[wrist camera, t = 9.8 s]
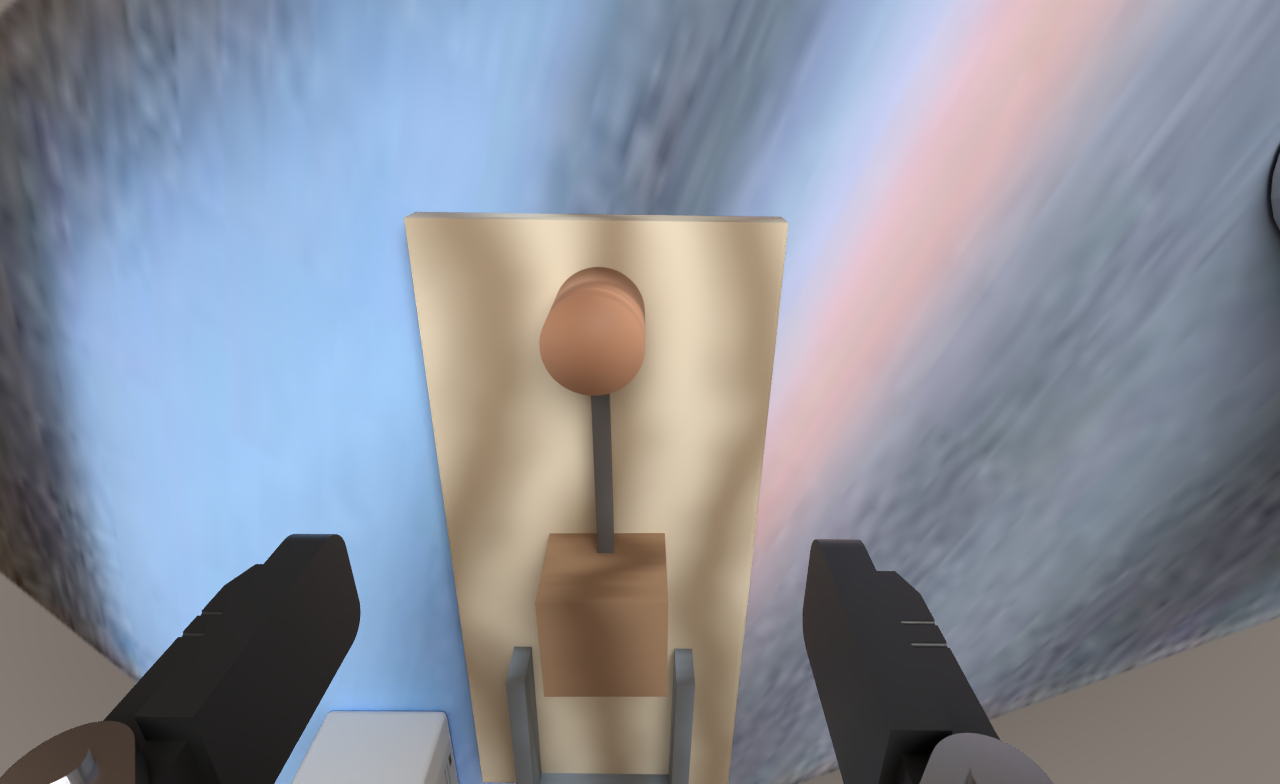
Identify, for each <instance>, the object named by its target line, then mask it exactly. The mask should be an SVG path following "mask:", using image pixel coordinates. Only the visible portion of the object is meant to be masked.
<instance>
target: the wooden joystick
mask: <svg viewBox="0 0 1280 784" xmlns="http://www.w3.org/2000/svg"><path fill="white" fill-rule="evenodd" d="M539 349H540V355H541V358H542V361H543V364H544V366H545V368H546V369H547V371H548V373H549V374H550V375H551V376H552V378H553V379H554V380H555V381H556V382H558V383H559V384H560V385H562V386H563V387H565V388H566V389H568V390H570V391H573V392H575V393H579V394H583V395H590V396H591V411H592V434H593V457H594V481H595V504H596V527H597V533H550V535H549V539H548V544H547V548H546V553H545V558H544V562H543V567H542V572H541V576H540V581H539V586H538V590H537V595H536V599H535V609H536V619H537V629H538V639H539V649H540V660H541V670H542V680H543V690H544V697H667V655H668V585H667V566H666V546H665V533H614V515H613V480H612V445H611V411H610V393H612V392H615V391H617V390H619V389H621V388H623V387H624V386H626V385H627V384H628V383H629V382H631V380H632V379H633V378H634V377H635V376H636V374H637V373H638V372H639V370H640V368H641V366H642V363H643V360H644V355H645V306H644V301H643V298H642V295H641V293H640V291H639V289H638V288H637V286H636V285H635V284H634V283H633V282H632V280H630V279H629V278H628V277H627V276H625V275H624V274H622V273H621V272H618V271H616V270H613V269H610V268H605V267H591V268H587V269H583V270H581V271H579V272H577V273H575V274H573V275H572V276H570V277H569V278H568V279H567V280H566V281H565V282H564V283H563V285H562V286H561V288H560V289H559V291H558V294H557V296H556V298H555V300H554V303H553V305H552V307H551V309H550V312H549V314H548V316H547V318H546V321H545V323H544V325H543V327H542V330H541V334H540V340H539Z"/></svg>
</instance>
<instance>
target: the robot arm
mask: <svg viewBox="0 0 1280 784" xmlns="http://www.w3.org/2000/svg"><path fill="white" fill-rule="evenodd" d="M1271 203H1272V209H1273V216H1274V219H1275V222H1276V224H1277V226H1278V228H1279V230H1280V153H1279V157H1278V160H1277V163H1276V167H1275V170H1274V173H1273V179H1272V190H1271ZM359 622H360V602H359V598H358V594H357V590H356V586H355V582H354V577H353V573H352V569H351V565H350V561H349V557H348V553H347V549H346V545H345V542H344V540H343V538H342V537H341V536H339V535H337V534H292V535H290V536H288V537H287V538H286V539H285V540H284V541H283V542H282V543H281V544H280V545H279V547H278V548H277V549H276V550H275V551H274V553H273V554H272V555H271V556H270V557H269V558H268V560H267V561H266V562H265V563H264V564H255V565H254V566H252V567H251V568H250V569H248V570H247V571H245V572H244V573H242V574H241V575H239V576H238V577H236V578H235V579H233V580H232V581H230V582H229V583H227V584H226V585H224V587H223V588H222V589H221V590H220V591H219V592H218V593H217V594H216V595H215V597H214V598H213V599H212V600H211V601H210V602H209V603H208V604H207V606H206V607H205V608H204V609H203V610H202V614H201V616H197V617H196V618H195V619H194V620H193V621H192V622H191V623H190V625H189V626H188V627H187V628H186V629H185V630H184V631H183V636H182V637H178V638H177V639H176V640H175V641H174V642H173V643H172V645H171V646H170V647H169V648H168V649H167V650H166V651H165V652H164V654H163V655H162V656H161V657H160V658H159V659H158V660H157V661H156V662H155V664H154V665H153V666H152V667H151V668H150V669H149V670H148V671H147V673H146V674H145V675H144V676H143V677H142V678H141V679H140V680H139V681H138V683H137V684H136V685H135V686H134V687H133V688H132V689H131V691H130V692H129V693H128V694H127V695H126V696H125V697H124V698H123V700H121V702H120V703H119V704H118V705H117V706H116V707H115V708H114V709H113V711H112V712H111V713H110V714H109V715H108V716H107V717H106V718H105V719H104V720H103V721H98V722H92V723H88V724H84V725H80V726H77V727H75V728H72V729H69V730H67V731H64V732H62V733H60V734H58V735H56V736H54V737H52V738H50V739H49V740H47V741H45V742H43V743H41V744H40V745H38V746H37V747H35V748H34V749H32V750H31V751H29V752H28V753H27V754H25V755H24V756H23V757H21V758H20V759H19V760H18V761H17V762H15V763H14V764H13V765H12V766H11V767H10V768H9V769H8V770H7V771H6V772H5V773H4V774H3V775H2V776H1V777H0V784H274V783H275V781H276V779H277V778H278V776H279V774H280V772H281V770H282V769H283V767H284V765H285V763H286V762H287V760H288V758H289V756H290V754H291V753H292V751H293V749H294V747H295V745H296V744H297V742H298V740H299V738H300V737H301V735H302V733H303V731H304V729H305V728H306V726H307V724H308V722H309V721H310V719H311V717H312V715H313V713H314V712H315V710H316V708H317V706H318V704H319V703H320V701H321V699H322V697H323V696H324V694H325V692H326V690H327V688H328V687H329V685H330V683H331V681H332V679H333V678H334V676H335V674H336V672H337V671H338V669H339V667H340V665H341V663H342V662H343V660H344V658H345V656H346V654H347V653H348V651H349V649H350V647H351V646H352V644H353V642H354V640H355V637H356V635H357V631H358V627H359ZM803 633H804V641H805V646H806V650H807V654H808V657H809V661H810V664H811V668H812V672H813V675H814V679H815V682H816V686H817V689H818V693H819V697H820V700H821V704H822V707H823V711H824V715H825V718H826V722H827V725H828V729H829V732H830V736H831V740H832V743H833V747H834V750H835V754H836V757H837V761H838V765H839V768H840V772H841V775H842V779H843V782H844V784H1053V783H1052V781H1051V780H1050V778H1049V777H1048V776H1047V775H1046V773H1045V772H1044V771H1043V770H1042V769H1041V768H1040V767H1039V766H1038V765H1037V764H1036V763H1035V762H1034V761H1032V760H1031V759H1030V758H1029V757H1028V756H1026V755H1025V754H1024V753H1022V752H1021V751H1019V750H1018V749H1016V748H1014V747H1013V746H1011V745H1009V744H1007V743H1005V742H1003V741H1001V740H1000V739H999V737H998V736H997V734H996V732H995V731H994V729H993V727H992V725H991V723H990V721H989V719H988V717H987V716H986V714H985V712H984V710H983V708H982V706H981V705H980V703H979V701H978V699H977V697H976V695H975V694H974V692H973V690H972V688H971V686H970V684H969V683H968V681H967V679H966V677H965V675H964V673H963V672H962V670H961V668H960V666H959V664H958V662H957V661H956V659H955V657H954V655H953V653H952V651H951V650H950V648H947V645H946V640H945V639H944V637H943V635H942V633H941V631H940V629H939V627H938V626H937V625H935V623H934V618H933V616H932V615H931V613H930V611H929V609H928V607H927V605H926V604H925V602H924V600H923V598H922V596H921V594H920V593H919V592H918V591H916V590H915V589H914V588H913V587H912V586H911V585H910V584H909V583H908V582H906V581H905V580H904V579H903V578H902V577H901V576H900V575H899V574H898V573H896V572H895V571H876V569H875V567H874V565H873V563H872V561H871V558H870V556H869V554H868V552H867V550H866V548H865V546H864V544H863V543H862V541H860V540H829V539H815V540H814V541H813V543H812V546H811V551H810V559H809V567H808V574H807V582H806V590H805V597H804V605H803Z"/></svg>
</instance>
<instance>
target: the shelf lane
mask: <svg viewBox="0 0 1280 784" xmlns="http://www.w3.org/2000/svg"><path fill="white" fill-rule="evenodd" d="M404 221H405V228H406V235H407V242H408V249H409V257H410V264H411V271H412V278H413V285H414V292H415V300H416V307H417V314H418V321H419V328H420V336H421V343H422V350H423V357H424V364H425V371H426V379H427V386H428V393H429V400H430V407H431V414H432V422H433V429H434V436H435V443H436V450H437V457H438V465H439V472H440V479H441V486H442V493H443V500H444V508H445V515H446V522H447V529H448V536H449V543H450V551H451V558H452V565H453V572H454V579H455V586H456V594H457V601H458V608H459V615H460V622H461V629H462V637H463V644H464V651H465V658H466V665H467V672H468V680H469V687H470V694H471V701H472V708H473V716H474V723H475V730H476V737H477V744H478V751H479V759H480V766H481V773H482V780H483V782H505V783H516V784H728V779H729V770H730V760H731V751H732V742H733V733H734V723H735V714H736V705H737V696H738V686H739V677H740V668H741V658H742V649H743V640H744V631H745V621H746V612H747V603H748V594H749V584H750V575H751V566H752V556H753V547H754V538H755V529H756V519H757V510H758V501H759V492H760V482H761V473H762V464H763V455H764V445H765V436H766V427H767V417H768V408H769V399H770V390H771V380H772V371H773V362H774V353H775V343H776V334H777V325H778V316H779V306H780V297H781V288H782V278H783V269H784V260H785V251H786V241H787V232H788V222H787V221H786V220H784V219H783V218H782V217H745V216H670V215H596V214H521V213H447V212H415V213H413V214H411V215H409V216H407V217H405V218H404ZM591 267H605V268H610V269H613V270H616V271H618V272H621V273H622V274H624V275H625V276H627V277H628V278H629V279H630V280H632V282H633V283H634V284H635V285H636V286H637V288H638V289H639V291H640V293H641V295H642V298H643V301H644V306H645V355H644V360H643V363H642V366H641V368H640V370H639V372H638V373H637V374H636V376H635V377H634V378H633V379H632V380H631V382H629V383H628V384H627V385H626V386H624V387H623V388H621V389H619V390H617V391H615V392H612V393H610V411H611V445H612V480H613V515H614V533H665V546H666V566H667V585H668V655H667V697H544V690H543V680H542V670H541V660H540V649H539V639H538V629H537V619H536V609H535V599H536V595H537V590H538V586H539V581H540V576H541V572H542V567H543V562H544V558H545V553H546V548H547V544H548V539H549V535H550V533H597V527H596V504H595V481H594V457H593V434H592V411H591V396H590V395H583V394H579V393H575V392H573V391H570V390H568V389H566V388H565V387H563V386H562V385H560V384H559V383H558V382H556V381H555V380H554V379H553V378H552V376H551V375H550V374H549V373H548V371H547V369H546V368H545V366H544V364H543V361H542V358H541V355H540V349H539V340H540V334H541V330H542V327H543V325H544V323H545V321H546V318H547V316H548V314H549V312H550V309H551V307H552V305H553V303H554V300H555V298H556V296H557V294H558V291H559V289H560V288H561V286H562V285H563V283H564V282H565V281H566V280H567V279H568V278H569V277H570V276H572V275H573V274H575V273H577V272H579V271H581V270H583V269H587V268H591Z"/></svg>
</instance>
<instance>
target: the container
mask: <svg viewBox="0 0 1280 784" xmlns="http://www.w3.org/2000/svg"><path fill="white" fill-rule="evenodd" d="M291 784H459V782H458V776H457V771H456V765H455V760H454V754H453V749H452V743H451V737H450V732H449V726H448V721H447V716H446V714H445V713H444V712H436V711H331V712H329V713H328V714H327V715H326V717H325V719H324V721H323V723H322V724H321V726H320V728H319V730H318V732H317V734H316V736H315V738H314V740H313V742H312V744H311V746H310V748H309V750H308V752H307V754H306V755H305V757H304V759H303V761H302V763H301V765H300V767H299V769H298V771H297V773H296V775H295V777H294V779H293V781H292V783H291Z"/></svg>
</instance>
